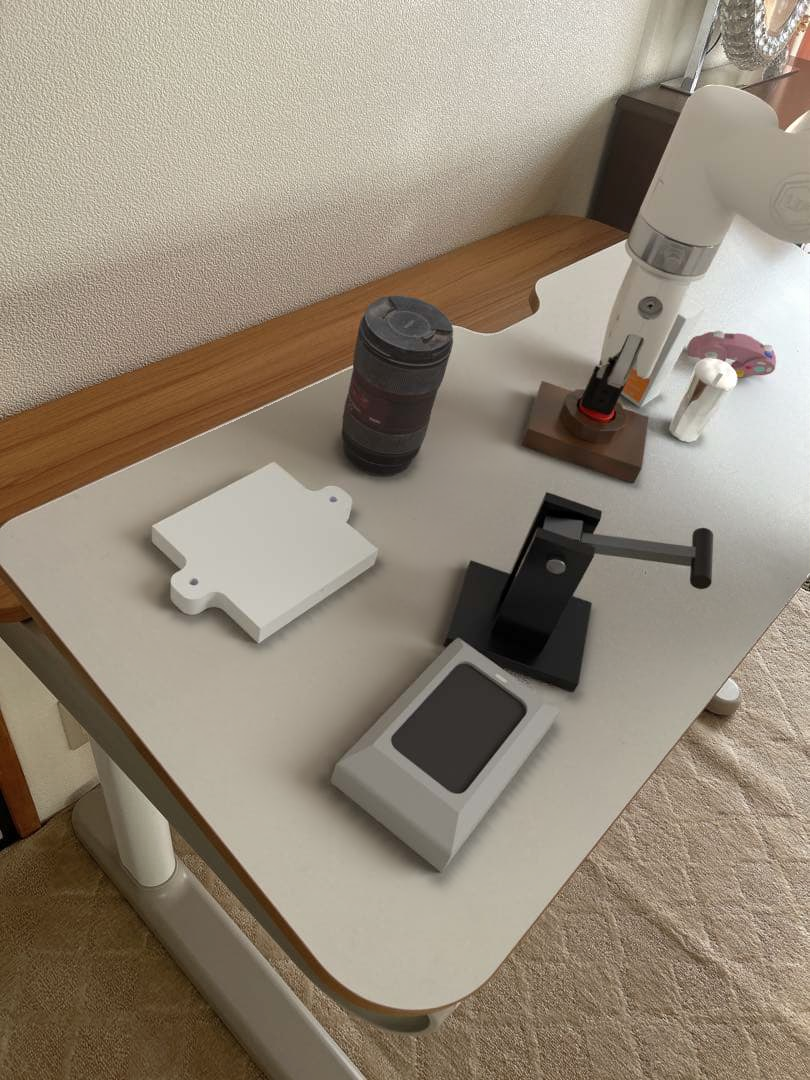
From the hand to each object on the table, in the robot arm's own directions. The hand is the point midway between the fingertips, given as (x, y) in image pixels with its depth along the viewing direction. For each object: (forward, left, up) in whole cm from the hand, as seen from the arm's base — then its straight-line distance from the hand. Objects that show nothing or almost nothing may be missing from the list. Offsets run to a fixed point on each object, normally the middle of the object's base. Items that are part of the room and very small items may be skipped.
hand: (595, 406), depth 90 cm
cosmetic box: (-4, -12, -5) cm, 13 cm away
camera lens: (+19, +13, -5) cm, 23 cm away
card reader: (+5, +42, -5) cm, 42 cm away
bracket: (+2, +28, -4) cm, 28 cm away
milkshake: (-11, -7, -5) cm, 13 cm away
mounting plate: (+24, +30, -5) cm, 38 cm away
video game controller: (-15, -22, -5) cm, 27 cm away
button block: (0, 0, -4) cm, 4 cm away
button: (0, 0, -2) cm, 2 cm away
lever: (-3, +28, +7) cm, 29 cm away
